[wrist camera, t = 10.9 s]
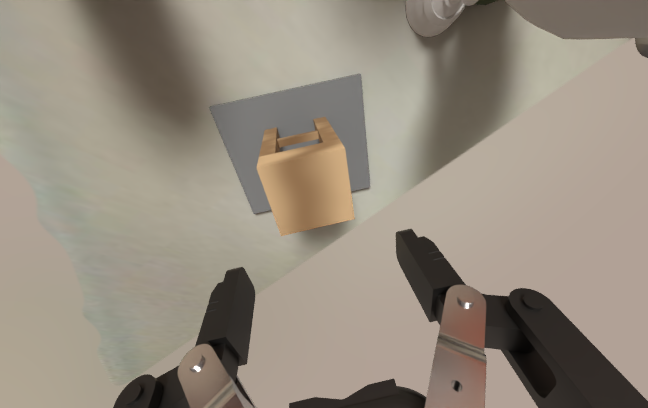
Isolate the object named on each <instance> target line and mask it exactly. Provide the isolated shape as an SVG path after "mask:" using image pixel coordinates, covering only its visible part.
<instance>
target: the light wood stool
mask: <svg viewBox="0 0 648 408" xmlns="http://www.w3.org/2000/svg"><path fill="white" fill-rule="evenodd" d="M313 121H314V126H315V131H311V132H306V133H302V134H297V135H293V136H288V137H284V138H280V137H279V133H278V130H277V127H276V128H271V129H267V130H265V131H264V136H263V140H262V145H261V149H260V154H259V159H258V163H257V171H258V174H259V177H260V179H261V182H262V185H263V188H264V190H265V193H266V196H267V199H268V201H269V204H270V207H271V209H272V212H273V215H274V218H275V220H276V223H277V226H278V229H279V231H280V234H281V236H284V235H288V234H292V233H296V232H301V231H305V230H309V229H314V228H318V227H322V226H327V225H331V224H335V223H340V222H344V221H348V220H353V219H355V218H354V210H353V203H352V196H351V188H350V181H349V173H348V166H347V158H346V151H345V147H344V146H343V144H342V142H341V141H340V139H339V138H338V136H337V135H336V133H335V131H334V130H333V128H332V127H331V125H330V123H329V122H328V120H327V119H326V117H321V118H317V119H313ZM316 139H319V141H320V143H319V144H314V145H310V146H305V147H301V148H296V149H292V150H287V151H283V152H280V147H284V146H289V145H293V144H298V143H302V142H307V141H311V140H316Z"/></svg>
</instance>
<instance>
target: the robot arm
mask: <svg viewBox="0 0 648 408" xmlns="http://www.w3.org/2000/svg"><path fill="white" fill-rule="evenodd" d="M635 41H636V47H637V50H638V51H639V52H640V54H641V55H642V56H645V57H647V58H648V37H646V38H635ZM396 254H397V259H398V262H399V264H400V266H401V268H402V270H403V272H404V274H405V276H406V278H407V280H408V282H409V283H410V285H411V287H412V289H413V291H414V293H415V295H416V297H417V299H418V300H419V302H420V304H421V306H422V308H423V310H424V312H425V314H426V316H427V318H428V320H429V322H433V321H438V323H439V324H440V330H439V336H438V339H437V344H436V350H435V355H434V360H433V366H432V371H431V376H430V382H429V387H428V392H427V397H425V396H424V395H422V394H420V393H418V392H416V391H414V390H411V389H409V388H405V387H399V386H396V383H395V380H394V379H391V380H386V381H382V382H378V383H374V384H370V385H367V386H365V387H364V388H362V389H360V390H359V391H357V392H355V393H354V394H352V395H350V396H349V397H347V398H345V399H342V400H339V399H328V398H317V397H315V398H310V399H306V400H302V401H297V402H293V403H290V404H289V408H485V388H486V355H485V354H484V348H493V349H501V351H502V352H503V354H504V355H505V357H506V358H507V360H508V361H509V363H510V365H511V366H512V368H513V369H514V371H515V372H516V374H517V375H518V377H519V378H520V380H521V381H522V383H523V385H524V386H525V388H526V389H527V391H528V392H529V394H530V395H531V397H532V399H533V400H534V402H535V403H536V405H537V406H538V408H648V401H647V400H646V399H645V398H644V397H643V396H642V395H641V394H640V393H639V392H638V391H637V390H636V389H635V388H634V387H633V386H632V385H631V383H630V382H629V381H628V380H627V379H626V378H625V377H624V376H623V375H622V374H621V373H620V372H619V371H618V370H617V369H616V368H615V367H614V366H613V365H612V364H611V363H610V362H609V361H608V360H607V359H606V358H605V356H603V355H602V353H601V352H600V351H599V350H598V349H597V348H596V347H595V346H594V345H593V344H592V343H591V342H590V341H589V340H588V339H587V338H586V337H585V336H584V335H583V334H582V333H581V332H580V331H579V329H578V328H577V327H576V326H575V325H574V324H573V323H572V322H571V321H570V320H569V319H568V318H567V317H566V316H565V315H564V314H563V313H562V312H561V311H560V310H559V309H558V308H557V307H556V306H555V305H554V304H553V303H552V302H551V301H550V300H549V299H548V298H547V297H546V296H544V295H543V294H541V293H539V292H537V291H534V290H531V289H525V288H520V289H515V290H513V291H512V292H511V293H510V295H509V296H495V295H485V294H481V293H480V292H479V291H477V290H476V289H474V288H472V287H470V286H467V285H466V284H465V283H464V282H463V281H462V279H461V278H460V277H459V276H458V274H457V273H456V272H455V270H454V269H453V268H452V267H451V265H450V264H449V262H448V261H447V260H446V259H445V258H444V256H443V254H442V253H441V252H440V251H439V249H438V248H437V246H436V245H435V244H434V243H433V242H432V241H431V240H429V239H427V238H426V237H419V238H418V237H417V236H416V234H415V233H414V232H413V230H412V229H408V230H403V231H399V232H396ZM254 302H255V290H254V286H253V284H252V282H251V280H250V278H249V277H248V275H247V273H246V271H245V269H244V268H243V267H240V268H236V269H231V270H228V271H227V272H226V274H225V278H224V281H223V282H221V283H218V284H217V286H216V287H215V289H214V290H213V292H212V293H211V297H210V300H209V305H208V306H207V310H206V313H205V316H204V319H203V323H202V326H201V329H200V333H199V336H198V339H197V342H196V346H195V347H194V348H193V349H191V350H190V351H189V352H188V353H187V354H186V355H185V356H184V357H183V359H182V360H181V362H180V365H179V366H177V367H176V368H174V369H172V370H170V371H168V372H167V373H165V374H163V375H161V376H160V377H158V378H154V377H153V376H152V375H142V376H140V377H138V378H136V379H134V380H133V381H132V382H130V383H129V384H128V385H127V386H126V387H125V389H124V390H123V391H122V392H121V394H120V395H119V397H118V398H117V400H116V402H115V405H114V407H113V408H257V407H256V406H255V404H254V403H253V401H252V399H251V398H250V396H249V394H248V393H247V391H246V390H245V388H244V386H243V385H242V383H241V381H240V380H239V378H238V376H237V370H238V366H241V365H245V364H247V358H248V350H249V342H250V334H251V326H252V318H253V310H254Z"/></svg>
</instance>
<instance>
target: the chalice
mask: <svg viewBox="0 0 648 408" xmlns="http://www.w3.org/2000/svg"><path fill="white" fill-rule="evenodd" d="M477 1H478V0H406V6H405V7H406V15H407V19H408V22H409V24H410V26H411V28H412V29H413V30H414V31H415V32H416V33H417V34H419V35H421V36H424V37H433V36H436V35H438V34H441V33H442V32H443V31H445V30H446V29H447V28H448V27H449V26H450V25H451V24H452V23H453V22H454V21H455V19H457V18H458V17H459V15H460V14H461V13H462V11H463V10H464V7H465V5H467V6H471V5H473V4H475V3H476V2H477ZM505 1H506V3H507V4H508V5H510V6H511V7H512V8H513V9H514V10H515V11H516V12H517V13H519V14H520V15H521V16H522V17H523V18H524V19H525V20H527V21H529V22H530V23H532V24H533V25H535V26H537V27H539V28H541V29H543V30H545V31H548V32H550V33H552V34H554V35H556V36H558V37H560V38H562V39H613V38H646V37H648V0H505Z"/></svg>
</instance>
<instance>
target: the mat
mask: <svg viewBox="0 0 648 408" xmlns="http://www.w3.org/2000/svg"><path fill="white" fill-rule="evenodd" d="M209 109H210V111H211V113H212V116H213V118H214V121H215V123H216V125H217V128H218V130H219V132H220V135H221V137H222V140H223V142H224V144H225V147H226V149H227V151H228V154H229V156H230V158H231V161H232V163H233V166H234V168H235V170H236V173H237V175H238V177H239V180H240V182H241V185H242V187H243V189H244V192H245V194H246V196H247V199H248V201H249V204H250V206H251V208H252V211H253V213H254V214H256V213H260V212H265V211H269V210H272V209H271V207H270V204H269V201H268V199H267V196H266V193H265V190H264V188H263V185H262V182H261V179H260V177H259V174H258V171H257V163H258V159H259V154H260V149H261V145H262V140H263V136H264V131H265V130H267V129H271V128H276V127H277V130H278V133H279V137H280V138H284V137H288V136H293V135H297V134H302V133H306V132H311V131H315V126H314V121H313V119H317V118H321V117H326V119H327V120H328V122H329V123H330V125H331V127H332V128H333V130H334V131H335V133H336V135H337V136H338V138H339V139H340V141H341V142H342V144H343V146H344V147H345V151H346V158H347V166H348V173H349V181H350V188H351V191H356V190H360V189H364V188H369V187H370V177H369V165H368V153H367V141H366V129H365V117H364V105H363V93H362V82H361V74H356V75H351V76H347V77H342V78H338V79H333V80H329V81H324V82H319V83H315V84H310V85H306V86H301V87H297V88H292V89H288V90H283V91H279V92H274V93H269V94H265V95H260V96H256V97H251V98H247V99H242V100H238V101H233V102H228V103H224V104H219V105H215V106H210V107H209ZM319 143H320V141H319V139H316V140H311V141H307V142H302V143H298V144H293V145H289V146H284V147H280V152H283V151H287V150H292V149H296V148H301V147H305V146H310V145H314V144H319Z"/></svg>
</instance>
